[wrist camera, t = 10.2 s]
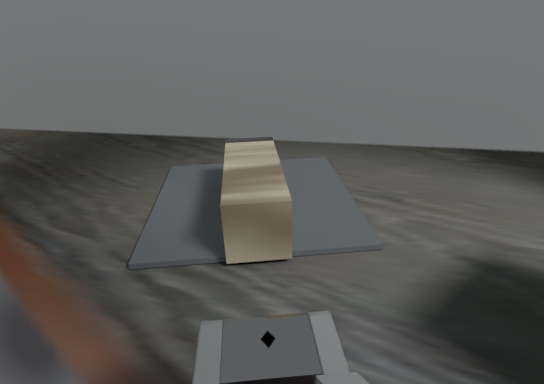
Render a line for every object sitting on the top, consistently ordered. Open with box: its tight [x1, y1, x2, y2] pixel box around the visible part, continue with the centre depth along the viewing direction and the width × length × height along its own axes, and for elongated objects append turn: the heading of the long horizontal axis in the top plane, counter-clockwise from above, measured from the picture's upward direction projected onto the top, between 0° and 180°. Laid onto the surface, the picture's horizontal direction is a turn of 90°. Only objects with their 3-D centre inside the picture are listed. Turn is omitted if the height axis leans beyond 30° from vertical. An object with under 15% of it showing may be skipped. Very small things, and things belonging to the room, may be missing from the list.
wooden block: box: [220, 137, 292, 264], centre depth 25 cm, size 4×4×12 cm
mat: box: [128, 157, 383, 270], centre depth 29 cm, size 16×16×1 cm
